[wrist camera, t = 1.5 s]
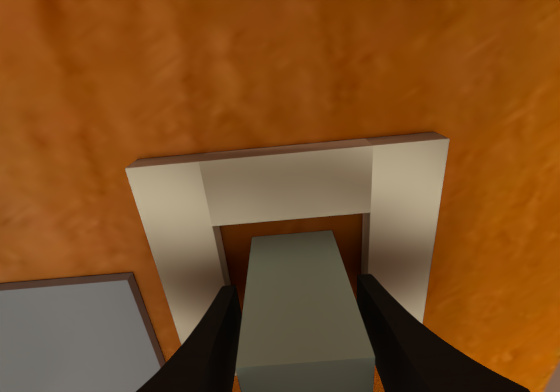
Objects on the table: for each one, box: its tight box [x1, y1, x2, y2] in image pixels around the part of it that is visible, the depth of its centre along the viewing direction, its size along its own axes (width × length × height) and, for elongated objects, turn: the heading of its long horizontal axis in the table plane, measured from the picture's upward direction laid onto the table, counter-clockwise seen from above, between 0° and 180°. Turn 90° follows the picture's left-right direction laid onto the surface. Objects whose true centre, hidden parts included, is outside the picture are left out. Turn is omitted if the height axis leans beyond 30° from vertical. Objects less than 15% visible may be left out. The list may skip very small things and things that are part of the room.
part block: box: [236, 230, 375, 392], centre depth 13 cm, size 4×4×7 cm
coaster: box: [0, 273, 165, 392], centre depth 18 cm, size 11×11×1 cm
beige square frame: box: [125, 132, 449, 376], centre depth 15 cm, size 13×13×1 cm
